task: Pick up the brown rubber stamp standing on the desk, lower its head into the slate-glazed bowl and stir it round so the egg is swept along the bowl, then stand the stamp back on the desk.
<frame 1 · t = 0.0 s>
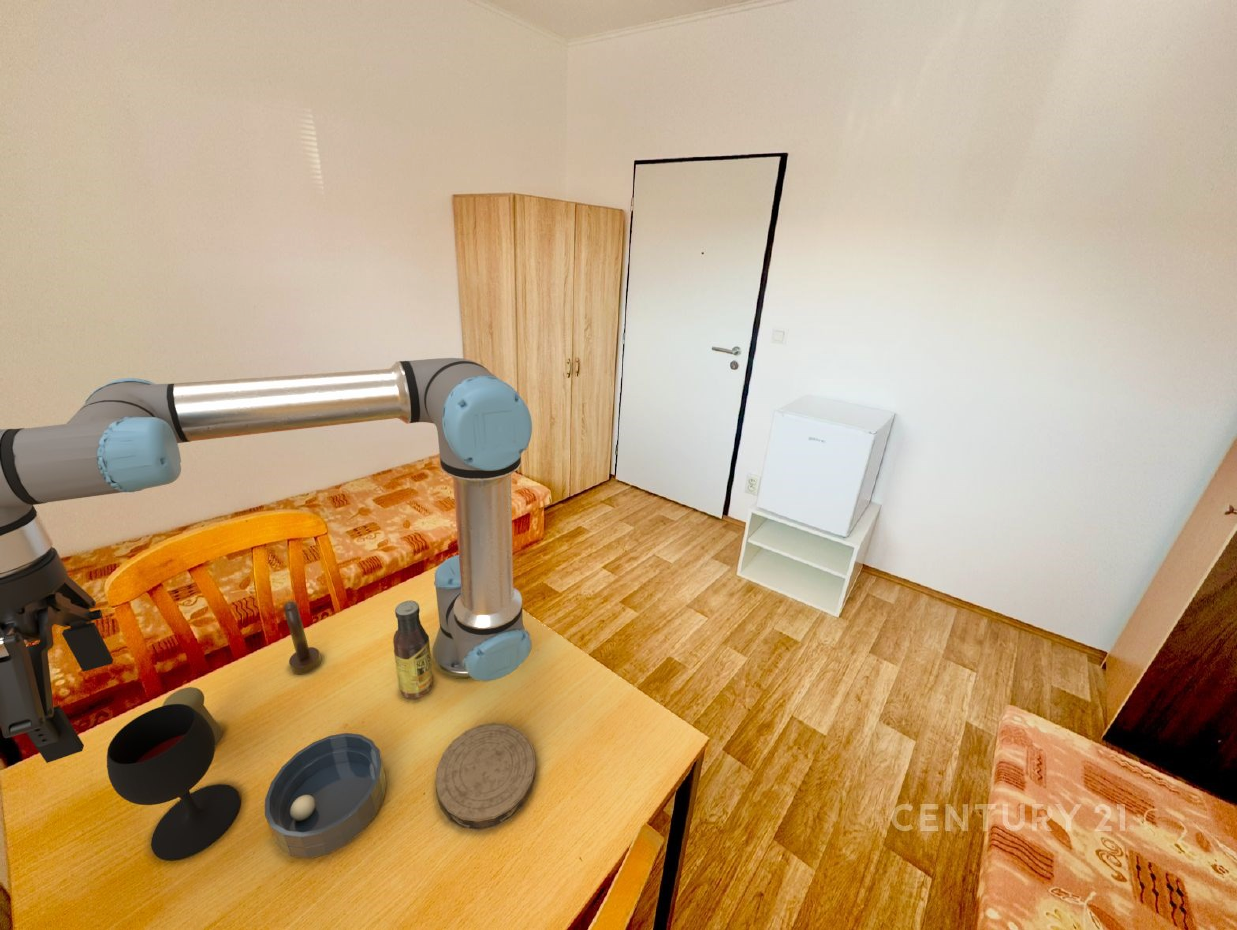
hand: (83, 706, 58), 28 cm above the table, tool pointing down, fingers open, 13 cm apart
tin can: (487, 778, 81), on the table
bowl: (332, 803, 76), on the table
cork: (200, 742, 83), on the table
brown rubber stamp: (306, 664, 99), on the table
wine glass: (198, 821, 73), on the table
egg: (302, 807, 73), point 2 cm above the table, touching bowl
sauce bottle: (417, 687, 96), on the table
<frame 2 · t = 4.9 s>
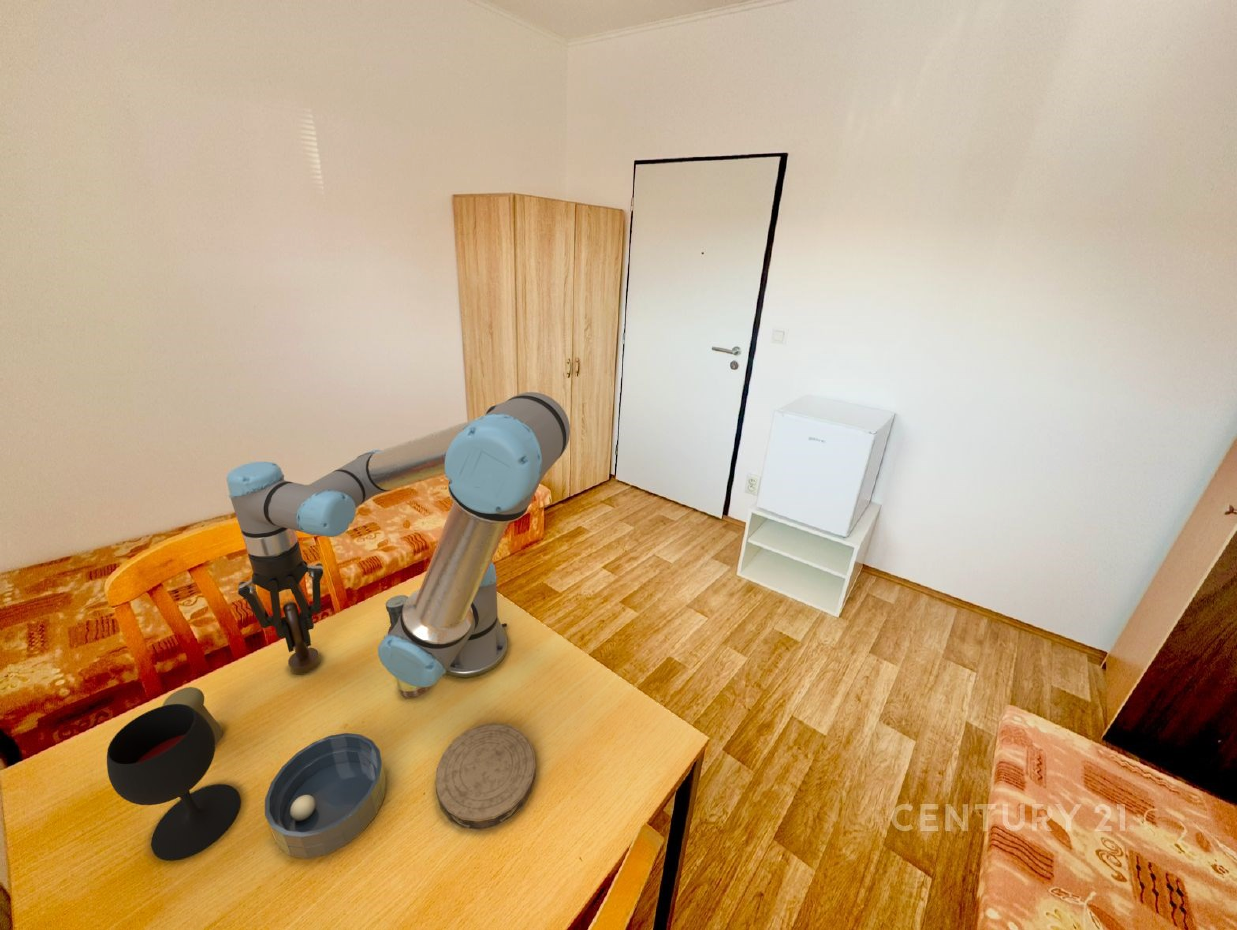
hand: (299, 644, 96), 6 cm above the table, tool pointing down, fingers closed on brown rubber stamp, 2 cm apart
brown rubber stamp: (305, 664, 99), on the table, touching gripper
sauce bottle: (417, 687, 96), on the table, touching arm
everything else where it was.
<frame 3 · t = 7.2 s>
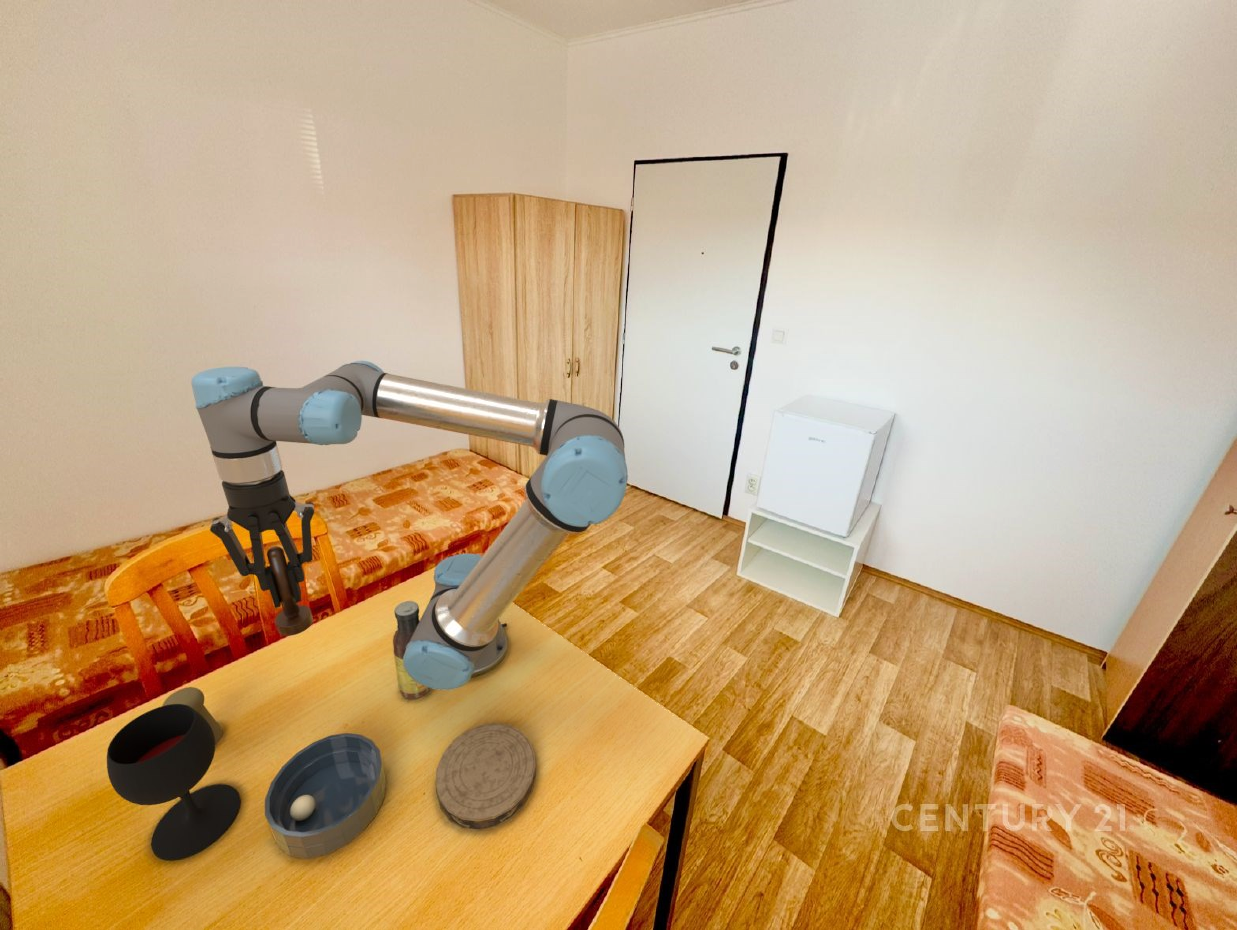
hand: (288, 599, 81), 24 cm above the table, tool pointing down, fingers closed on brown rubber stamp, 2 cm apart
brown rubber stamp: (295, 624, 84), point 19 cm above the table, touching gripper
sauce bottle: (417, 687, 96), on the table
everything else where it was.
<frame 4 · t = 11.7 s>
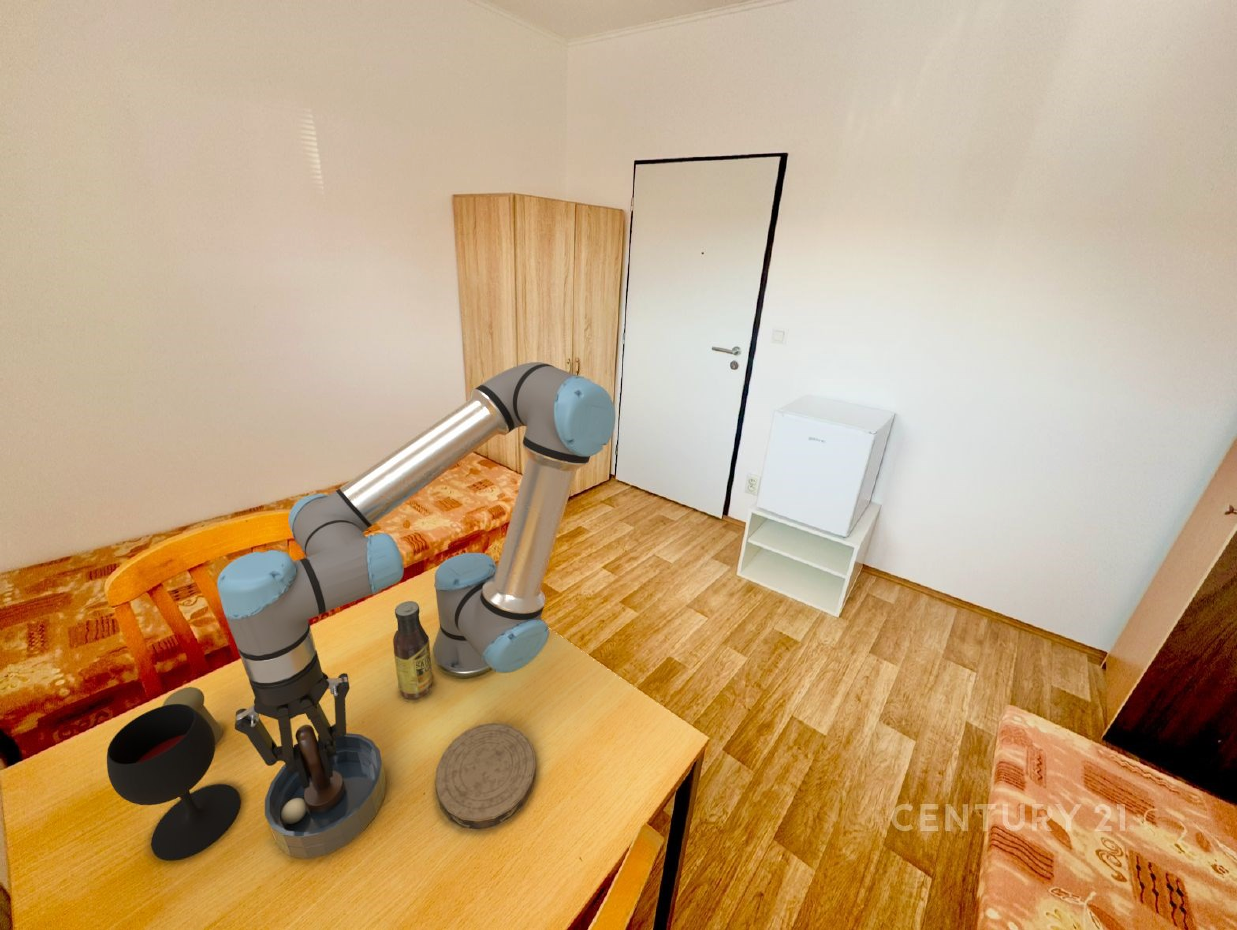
hand: (317, 774, 73), 7 cm above the table, tool pointing down, fingers closed on brown rubber stamp, 2 cm apart
brown rubber stamp: (326, 795, 76), point 1 cm above the table, touching egg, gripper
egg: (294, 811, 73), point 2 cm above the table, tilted 38°, touching bowl, brown rubber stamp
everything else where it was.
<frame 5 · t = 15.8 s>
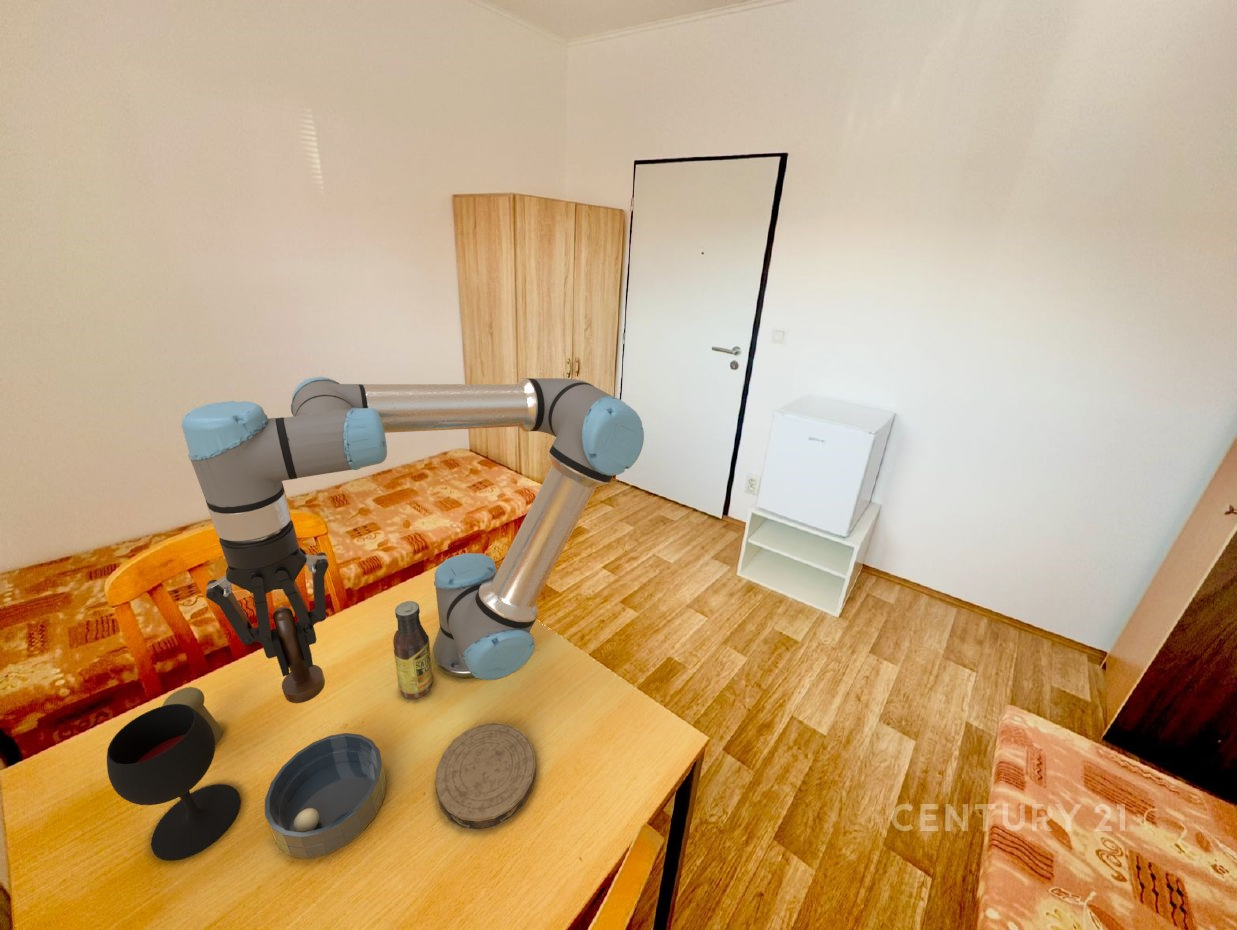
hand: (297, 664, 70), 24 cm above the table, tool pointing down, fingers closed on brown rubber stamp, 2 cm apart
brown rubber stamp: (305, 687, 73), point 19 cm above the table, touching gripper
egg: (306, 821, 72), point 2 cm above the table, tilted 53°, touching bowl
everything else where it was.
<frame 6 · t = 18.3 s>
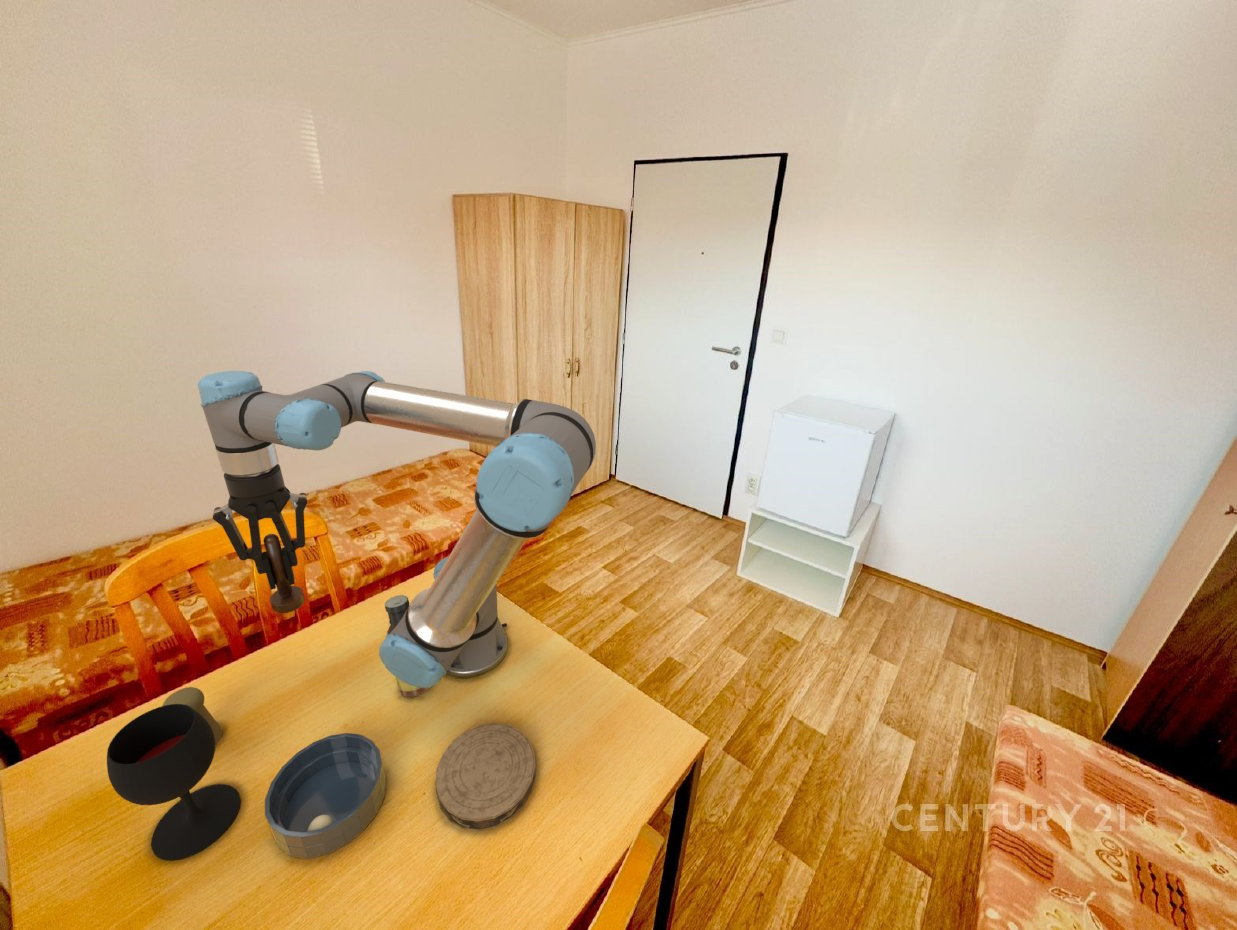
hand: (282, 582, 89), 21 cm above the table, tool pointing down, fingers closed on brown rubber stamp, 2 cm apart
brown rubber stamp: (288, 603, 92), point 16 cm above the table, touching gripper
egg: (320, 828, 71), point 2 cm above the table, tilted 121°, touching bowl
sauce bottle: (417, 687, 96), on the table, touching arm
everything else where it was.
when the fingers open (6 cm above the table, at t = 21.8 s): brown rubber stamp stays where it is, on the table.
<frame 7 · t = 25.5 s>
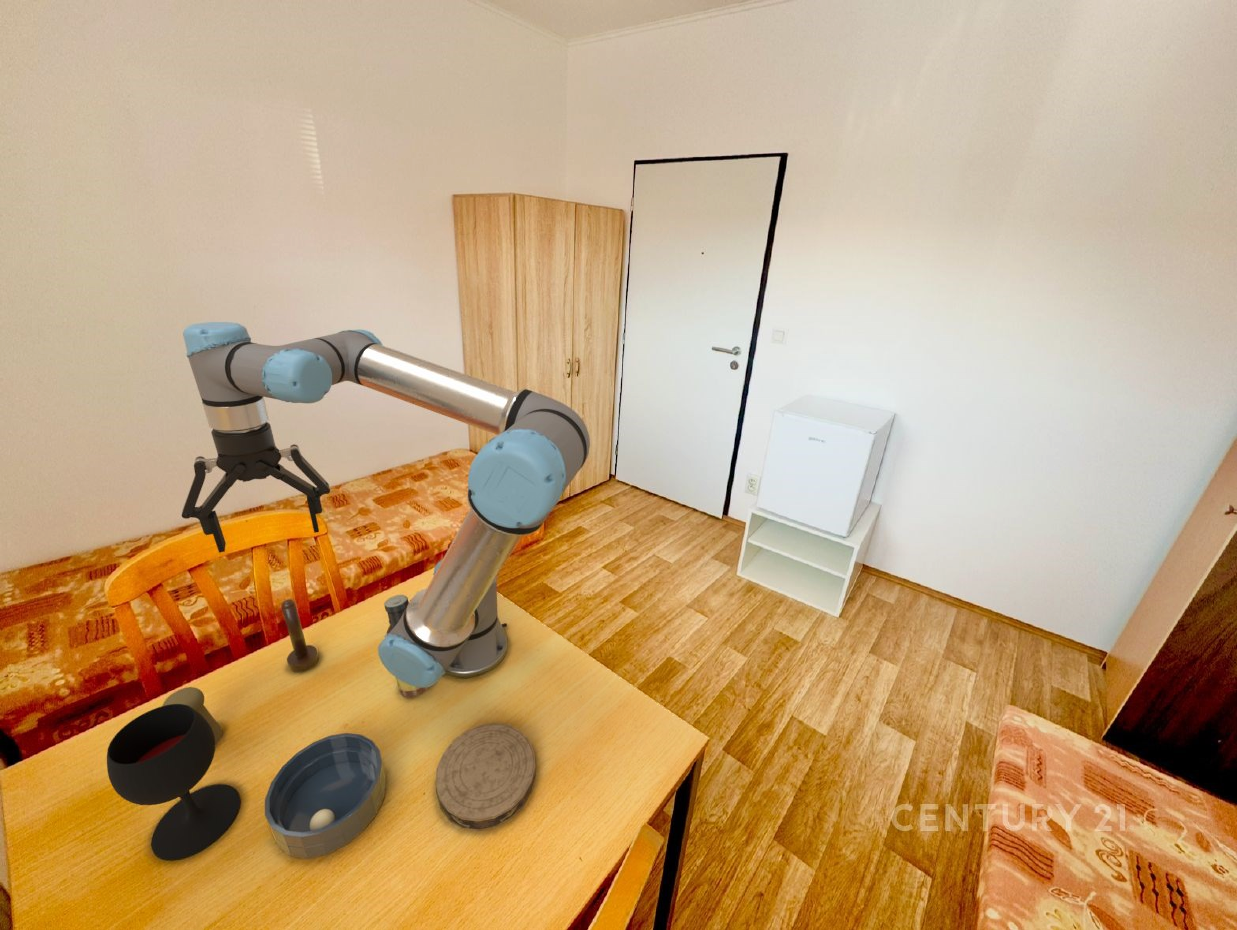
hand: (271, 538, 85), 31 cm above the table, tool pointing down, fingers open, 13 cm apart
brown rubber stamp: (304, 662, 99), on the table
egg: (322, 822, 72), point 2 cm above the table, tilted 93°, touching bowl
everything else where it was.
at the end: egg moved 4.3 cm from its start; egg inside the target area in the bowl (3.8 cm from its centre), point 2.2 cm above the bowl's base; brown rubber stamp tilted 0° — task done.
